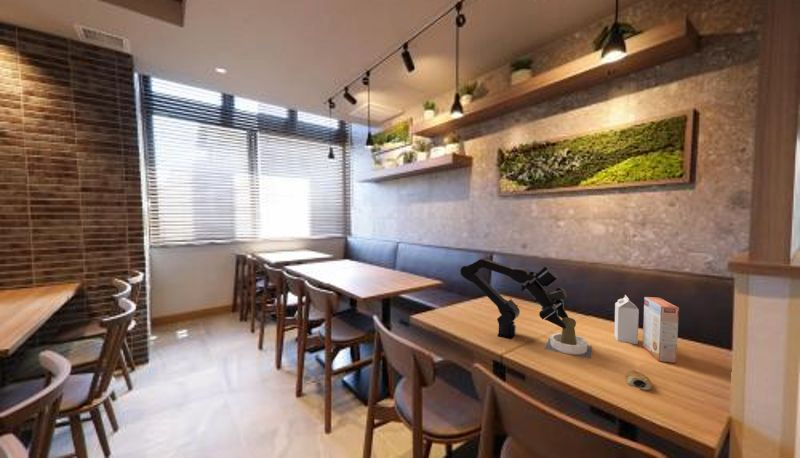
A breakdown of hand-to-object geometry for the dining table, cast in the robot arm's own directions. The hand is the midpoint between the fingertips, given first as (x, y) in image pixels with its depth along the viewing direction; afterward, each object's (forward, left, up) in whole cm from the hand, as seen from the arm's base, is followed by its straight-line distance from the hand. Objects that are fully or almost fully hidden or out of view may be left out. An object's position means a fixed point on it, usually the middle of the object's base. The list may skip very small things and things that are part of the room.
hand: (567, 324), depth 130 cm
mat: (+1, 0, -10) cm, 10 cm away
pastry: (+22, -18, -10) cm, 30 cm away
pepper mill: (+1, 0, -8) cm, 8 cm away
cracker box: (+31, +12, -10) cm, 34 cm away
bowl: (+1, 0, -9) cm, 9 cm away
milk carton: (+21, +22, -10) cm, 32 cm away
